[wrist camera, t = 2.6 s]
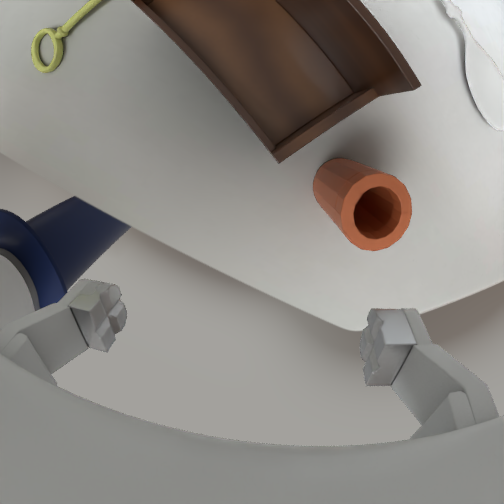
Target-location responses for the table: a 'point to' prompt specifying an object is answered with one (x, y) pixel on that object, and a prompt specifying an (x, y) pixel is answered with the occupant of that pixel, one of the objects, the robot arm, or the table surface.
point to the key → (57, 38)
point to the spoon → (481, 74)
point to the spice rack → (287, 61)
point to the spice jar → (363, 202)
